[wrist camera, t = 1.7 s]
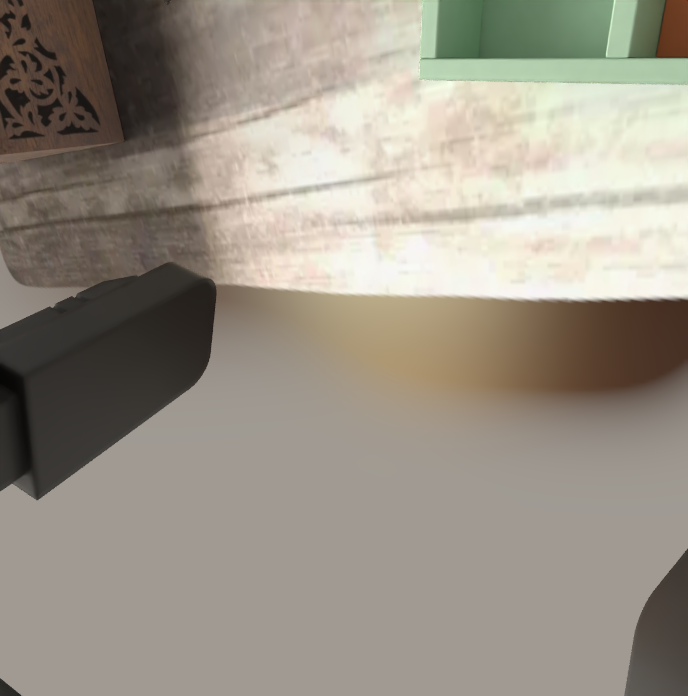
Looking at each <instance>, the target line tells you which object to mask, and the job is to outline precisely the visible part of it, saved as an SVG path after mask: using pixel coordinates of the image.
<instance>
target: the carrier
mask: <svg viewBox="0 0 688 696" xmlns="http://www.w3.org/2000/svg"><path fill="white" fill-rule="evenodd" d="M420 58H422V59H420V61H419V79H420V80H451V81H507V82H563V83H619V84H675V85H688V0H422V17H421V39H420Z"/></svg>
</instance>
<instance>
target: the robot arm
mask: <svg viewBox="0 0 688 696" xmlns="http://www.w3.org/2000/svg"><path fill="white" fill-rule="evenodd" d="M215 303H216V286H215V283H214V282H213V281H212V280H211V279H209V278H207V277H205V276H203V275H201V274H199V273H197V272H195V271H193V270H191V269H188V268H186V267H184V266H182V265H180V264H178V263H176V262H168V263H166V264H163V265H161V266H159V267H157V268H155V269H153V270H151V271H149V272H147V273H145V274H143V275H141V276H139V277H138V276H130V277H125V278H119V279H114V280H109V281H103V282H101V283H99V284H97V285H95V286H93V287H91V288H88V289H86V290H84V291H82V292H80V293H78V294H77V296H76V297H75V298H74V297H72V296H71V297H69V298H67V299H65V300H63V301H60V302H58V303H56V304H55V306H54V308H51V307H48V308H46V309H43V310H41V311H39V312H37V313H35V314H33V315H30V316H28V317H26V318H24V319H22V320H20V321H18V322H15V323H13V324H11V325H9V326H7V327H5V328H3V329H0V491H1V490H3V489H4V488H6V487H7V486H9V485H10V484H14V485H15V486H17V487H18V488H20V489H21V490H23V491H24V492H26V493H27V494H28V495H30V496H31V497H33V498H34V499H36V500H38V499H40V498H41V497H43V496H44V495H45V494H47V493H48V492H50V491H51V490H52V489H54V488H55V487H56V486H58V485H59V484H60V483H62V482H63V481H64V480H66V479H67V478H68V477H70V476H71V475H73V474H74V473H75V472H77V471H78V470H79V469H81V468H82V467H83V466H85V465H86V464H88V463H89V462H90V461H92V460H93V459H94V458H96V457H97V456H98V455H100V454H101V453H102V452H104V451H105V450H107V449H108V448H109V447H111V446H112V445H114V444H115V443H116V442H118V441H119V440H120V439H122V438H123V437H124V436H126V435H127V434H129V433H130V432H131V431H132V430H134V429H135V428H137V427H138V426H139V425H141V424H142V423H143V422H145V421H146V420H148V419H149V418H150V417H152V416H153V415H154V414H156V413H157V412H158V411H160V410H161V409H163V408H164V407H165V406H166V405H168V404H169V403H171V402H172V401H174V400H175V399H176V398H178V397H179V396H180V395H182V394H183V393H184V392H186V391H187V390H189V389H190V388H191V387H192V386H194V385H195V383H196V382H197V381H198V380H199V379H200V377H201V376H202V374H203V373H204V371H205V369H206V367H207V365H208V362H209V358H210V353H211V343H212V333H213V323H214V314H215V313H214V312H215ZM0 696H21V695H20V694H19V693H18V692H16V691H15V690H14V689H13V688H12V687H10V686H9V685H8V684H6V683H5V682H4V681H3V680H2V679H0ZM625 696H688V549H687V550H686V551H685V553H684V554H683V555H682V557H681V558H680V559H679V560H678V562H677V563H676V564H675V565H674V566H673V568H672V569H671V570H670V571H669V573H668V574H667V575H666V576H665V577H664V579H663V580H662V581H661V582H660V584H659V585H658V586H657V588H656V589H655V590H654V591H653V593H652V594H651V596H650V597H649V599H648V601H647V602H646V604H645V606H644V608H643V610H642V613H641V615H640V617H639V620H638V623H637V626H636V630H635V635H634V641H633V646H632V652H631V659H630V665H629V671H628V677H627V684H626V689H625Z"/></svg>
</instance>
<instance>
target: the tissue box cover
mask: <svg viewBox="0 0 688 696" xmlns="http://www.w3.org/2000/svg"><path fill="white" fill-rule="evenodd" d="M120 142H125V141H124V136H123V132H122V128H121V123H120V119H119V115H118V110H117V106H116V102H115V97H114V93H113V89H112V84H111V80H110V76H109V71H108V67H107V63H106V58H105V54H104V50H103V45H102V41H101V37H100V32H99V28H98V24H97V19H96V15H95V10H94V6H93V2H92V0H0V163H6V162H15V161H22V160H28V159H33V158H39V157H44V156H50V155H55V154H60V153H66V152H71V151H77V150H82V149H88V148H93V147H99V146H104V145H109V144H115V143H120Z"/></svg>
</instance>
